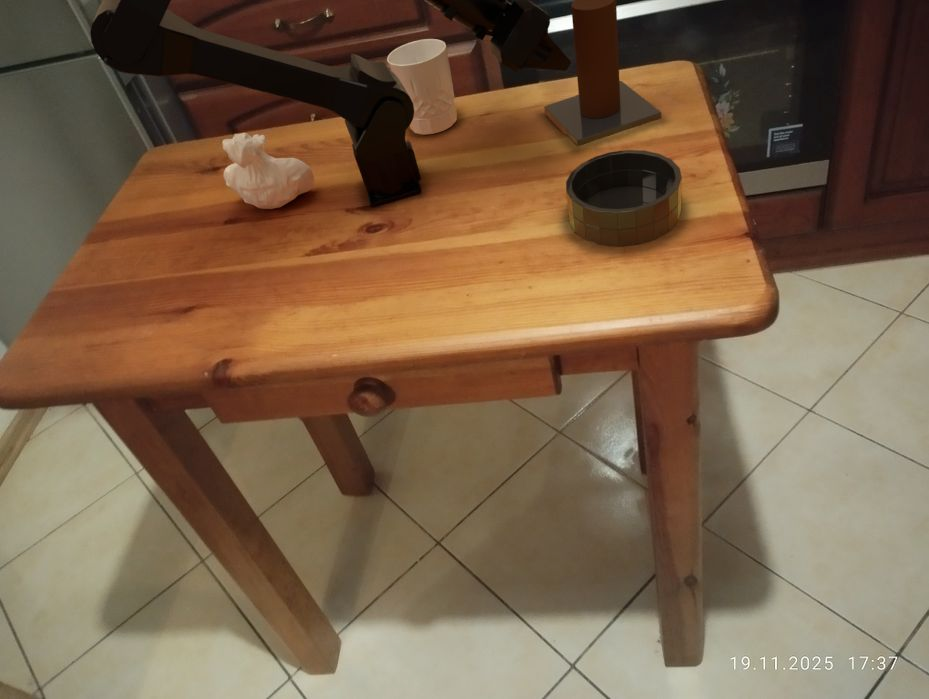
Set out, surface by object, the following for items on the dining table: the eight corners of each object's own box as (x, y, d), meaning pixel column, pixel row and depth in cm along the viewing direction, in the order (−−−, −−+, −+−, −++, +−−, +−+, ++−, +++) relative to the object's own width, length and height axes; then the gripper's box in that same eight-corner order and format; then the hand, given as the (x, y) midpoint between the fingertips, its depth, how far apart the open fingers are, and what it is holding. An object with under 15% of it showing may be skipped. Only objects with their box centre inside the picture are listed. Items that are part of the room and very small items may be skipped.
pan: (591, 262, 66) (588, 224, 63) (556, 205, 75) (551, 169, 71) (699, 229, 67) (701, 190, 64) (652, 176, 75) (652, 139, 72)
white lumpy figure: (243, 219, 91) (187, 191, 80) (246, 164, 92) (191, 129, 81) (324, 213, 88) (278, 183, 77) (326, 157, 88) (281, 119, 78)
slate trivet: (577, 149, 82) (577, 140, 81) (544, 114, 90) (543, 106, 89) (661, 121, 83) (661, 112, 82) (621, 89, 91) (621, 80, 90)
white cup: (398, 123, 97) (378, 53, 90) (448, 103, 98) (432, 33, 91) (418, 143, 91) (399, 71, 84) (470, 122, 92) (455, 49, 86)
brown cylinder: (609, 120, 83) (603, 10, 74) (573, 116, 85) (563, 9, 76) (627, 100, 85) (624, -9, 76) (591, 97, 88) (584, -9, 79)
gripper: (517, -84, 60) (634, 9, 69) (460, -113, 74) (563, -33, 82) (452, 32, 65) (568, 106, 74) (410, -15, 79) (512, 52, 87)
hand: (553, 53), depth 79 cm, fingers open, 9 cm apart
